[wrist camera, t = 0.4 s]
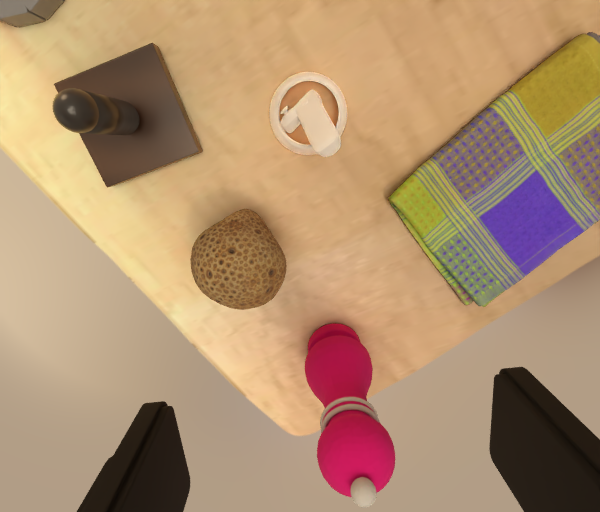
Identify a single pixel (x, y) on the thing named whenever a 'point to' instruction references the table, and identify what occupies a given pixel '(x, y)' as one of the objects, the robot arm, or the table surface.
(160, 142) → the spindle
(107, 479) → the robot arm
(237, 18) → the table surface
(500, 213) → the dish towel
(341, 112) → the white lever handle
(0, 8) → the grey ring
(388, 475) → the pepper mill
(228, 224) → the natural sponge
